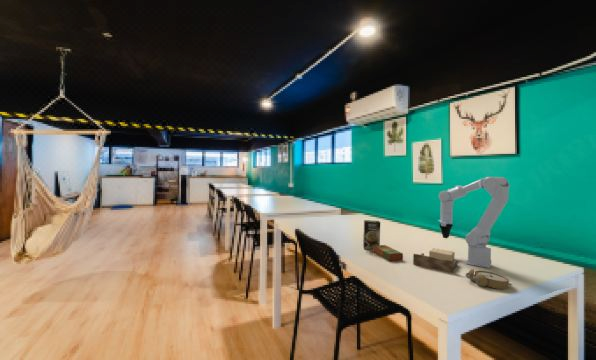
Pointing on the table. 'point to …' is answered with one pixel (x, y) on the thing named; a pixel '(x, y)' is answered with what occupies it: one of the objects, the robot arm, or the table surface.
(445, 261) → the frame
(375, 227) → the coffee box
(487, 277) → the alarm clock
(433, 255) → the small carton
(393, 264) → the table surface
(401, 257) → the carton
